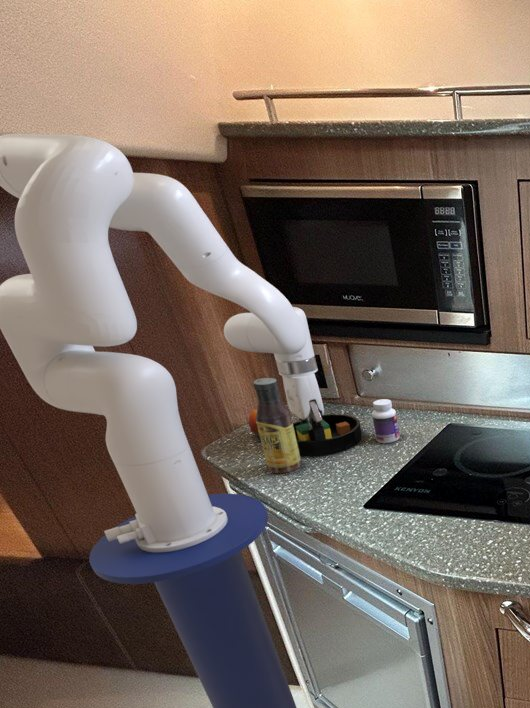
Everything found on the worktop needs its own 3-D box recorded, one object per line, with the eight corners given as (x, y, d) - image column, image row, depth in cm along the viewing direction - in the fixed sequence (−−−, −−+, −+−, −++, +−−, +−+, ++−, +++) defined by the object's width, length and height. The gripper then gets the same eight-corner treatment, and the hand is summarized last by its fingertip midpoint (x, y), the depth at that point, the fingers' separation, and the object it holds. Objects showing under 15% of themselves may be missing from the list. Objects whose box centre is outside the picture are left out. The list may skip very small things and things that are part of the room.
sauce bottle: (262, 471, 106) (235, 382, 97) (287, 459, 111) (264, 373, 102) (285, 477, 104) (260, 387, 95) (310, 464, 109) (288, 378, 100)
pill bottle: (402, 440, 121) (396, 403, 117) (379, 445, 119) (372, 407, 114) (396, 432, 125) (390, 396, 121) (374, 437, 123) (367, 400, 118)
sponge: (305, 447, 115) (301, 431, 113) (299, 441, 117) (295, 426, 115) (332, 439, 119) (329, 424, 117) (326, 434, 121) (322, 419, 119)
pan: (301, 463, 110) (297, 448, 108) (269, 432, 123) (265, 418, 121) (373, 442, 120) (370, 428, 118) (336, 415, 133) (334, 402, 132)
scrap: (341, 436, 121) (339, 427, 120) (337, 433, 122) (335, 424, 121) (351, 433, 122) (349, 424, 121) (347, 430, 124) (345, 421, 123)
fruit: (235, 433, 118) (246, 401, 118) (269, 439, 125) (279, 409, 125) (254, 442, 115) (265, 409, 115) (287, 447, 122) (298, 416, 122)
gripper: (266, 360, 112) (285, 433, 120) (291, 378, 102) (311, 457, 110) (302, 354, 117) (318, 425, 125) (329, 371, 107) (346, 447, 115)
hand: (315, 439), depth 118 cm, fingers closed on sponge, 4 cm apart
